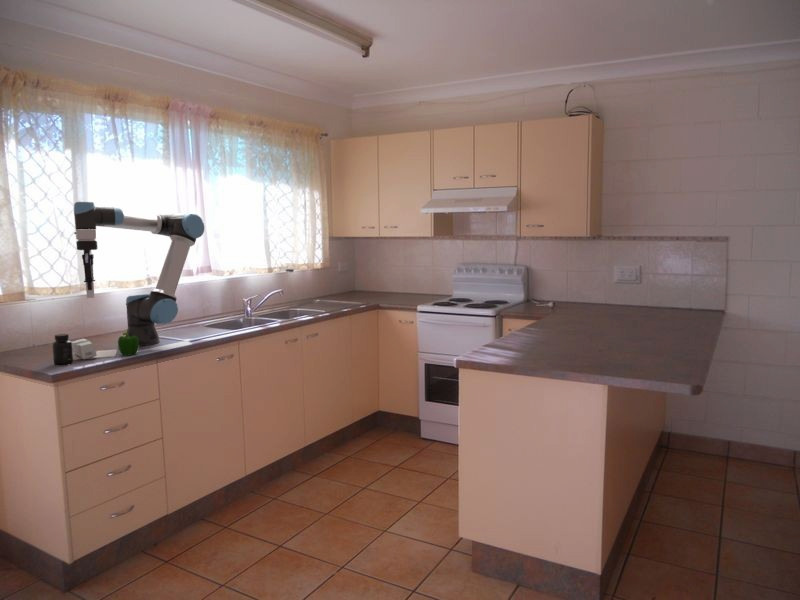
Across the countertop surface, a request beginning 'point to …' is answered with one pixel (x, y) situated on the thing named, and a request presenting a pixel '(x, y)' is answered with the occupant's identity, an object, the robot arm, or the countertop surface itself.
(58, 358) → the supplement bottle
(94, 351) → the syrup box
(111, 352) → the mat
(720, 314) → the countertop surface
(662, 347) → the countertop surface
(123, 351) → the bell pepper
